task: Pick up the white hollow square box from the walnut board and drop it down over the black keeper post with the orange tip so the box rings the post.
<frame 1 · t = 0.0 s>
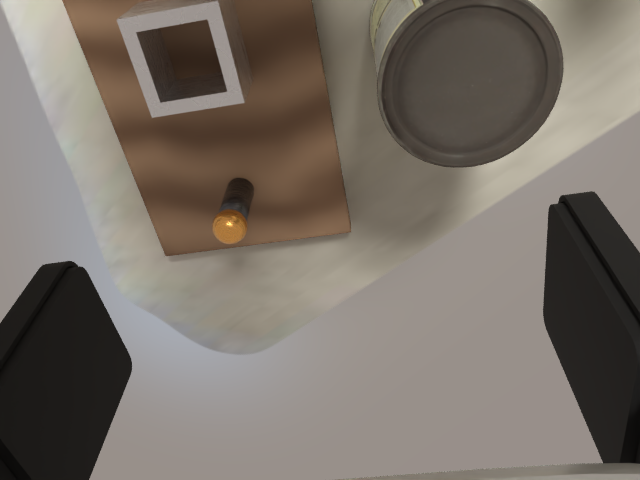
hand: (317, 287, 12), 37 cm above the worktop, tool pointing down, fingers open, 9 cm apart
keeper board: (225, 120, 49), on the worktop
white hollow square box: (197, 42, 44), point 1 cm above the worktop, touching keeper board
keeper post: (240, 189, 51), resting on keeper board
coffee can: (434, 22, 44), on the worktop
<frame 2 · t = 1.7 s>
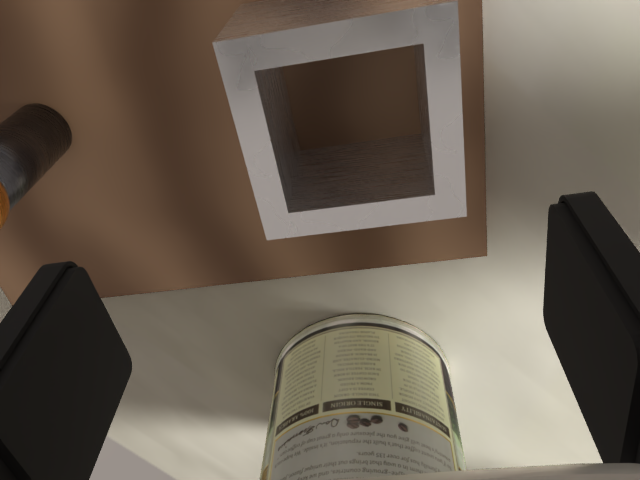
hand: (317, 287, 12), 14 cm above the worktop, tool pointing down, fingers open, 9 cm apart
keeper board: (188, 96, 24), on the worktop
white hollow square box: (350, 83, 22), point 1 cm above the worktop, touching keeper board
keeper post: (43, 130, 24), resting on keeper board
coffee can: (361, 374, 34), on the worktop
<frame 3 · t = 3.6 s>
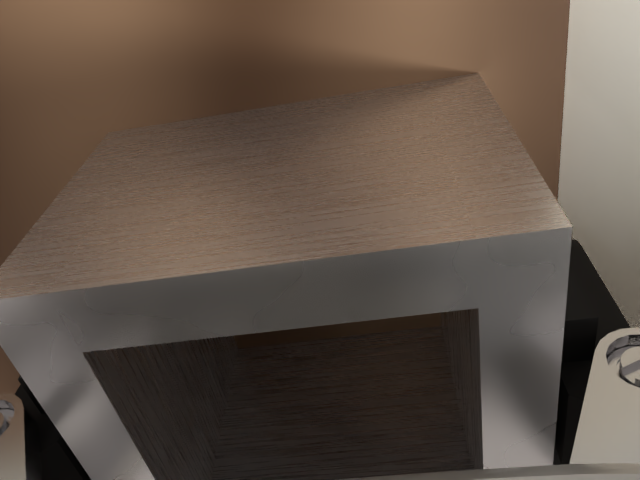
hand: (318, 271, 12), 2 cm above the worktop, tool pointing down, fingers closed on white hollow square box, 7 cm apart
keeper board: (51, 254, 15), on the worktop
white hollow square box: (319, 254, 13), point 1 cm above the worktop, touching gripper, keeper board
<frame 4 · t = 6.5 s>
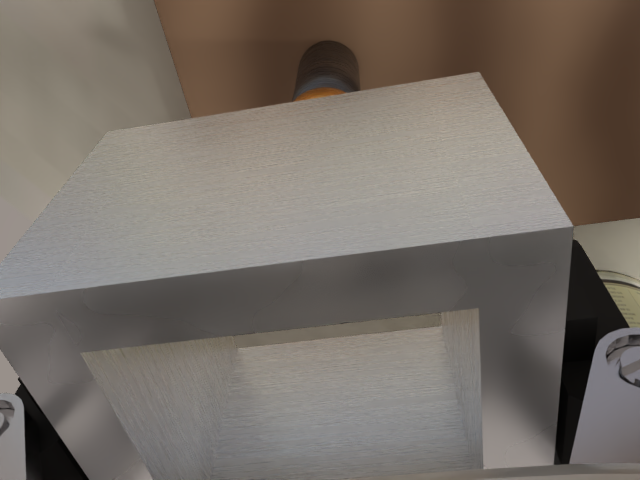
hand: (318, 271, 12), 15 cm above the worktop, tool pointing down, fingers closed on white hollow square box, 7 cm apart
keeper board: (475, 34, 23), on the worktop
white hollow square box: (319, 254, 13), point 14 cm above the worktop, touching gripper
keeper post: (328, 71, 23), resting on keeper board
coffee can: (571, 337, 33), on the worktop
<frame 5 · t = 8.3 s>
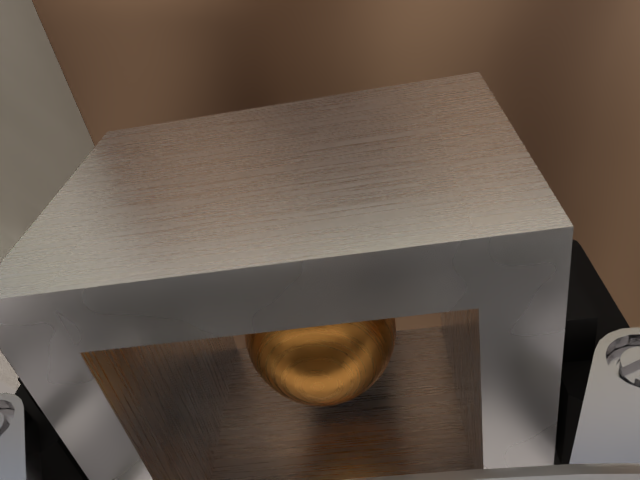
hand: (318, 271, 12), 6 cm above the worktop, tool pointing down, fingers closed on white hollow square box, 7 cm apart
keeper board: (539, 120, 16), on the worktop
white hollow square box: (319, 254, 13), point 5 cm above the worktop, touching gripper
keeper post: (327, 175, 16), resting on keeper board
when the fingers open (5 cm above the worktop, at t = 9.7 s): white hollow square box drops 2 cm, resting on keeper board.
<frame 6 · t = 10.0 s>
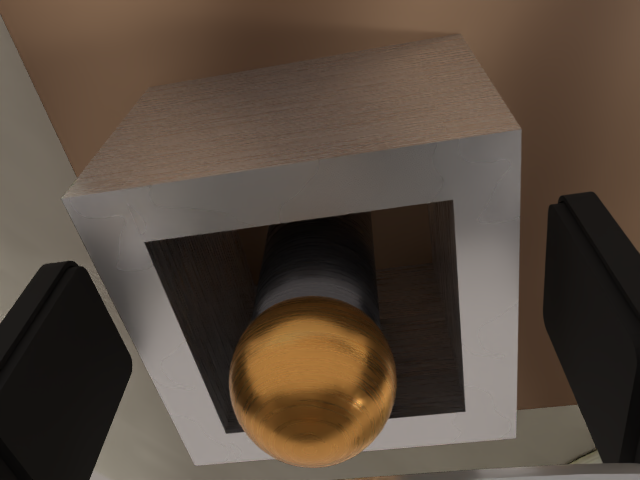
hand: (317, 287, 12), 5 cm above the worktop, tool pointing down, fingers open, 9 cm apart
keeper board: (548, 137, 15), on the worktop
white hollow square box: (326, 197, 15), point 1 cm above the worktop, touching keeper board
keeper post: (322, 197, 15), resting on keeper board
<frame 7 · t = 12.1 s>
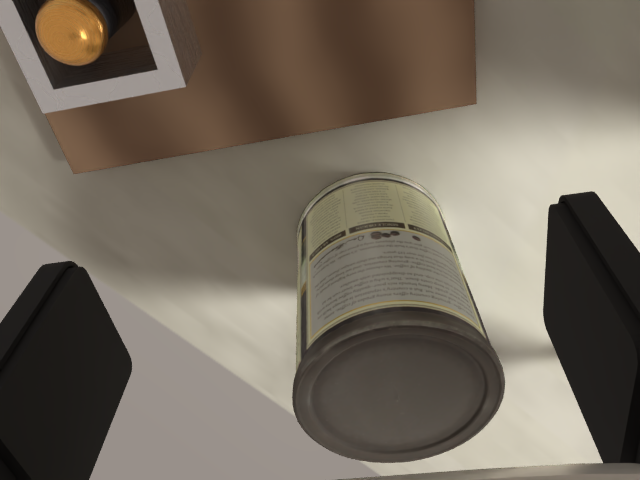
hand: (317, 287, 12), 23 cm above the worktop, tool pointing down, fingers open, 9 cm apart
coffee can: (370, 235, 40), on the worktop
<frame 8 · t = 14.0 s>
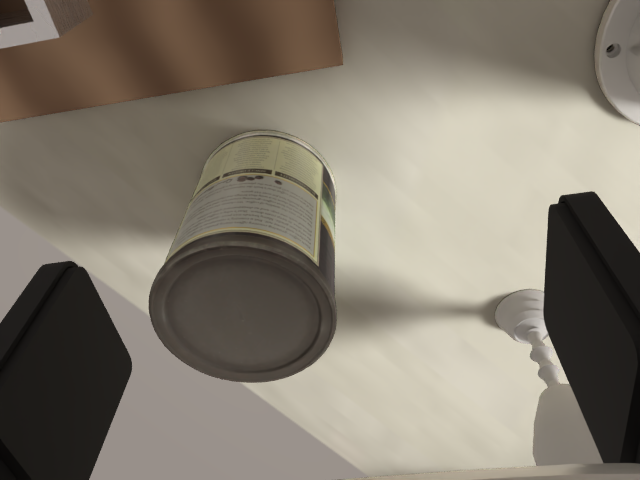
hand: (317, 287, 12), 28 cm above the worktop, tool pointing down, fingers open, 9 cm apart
chalice: (524, 310, 49), on the worktop
coffee can: (269, 190, 43), on the worktop
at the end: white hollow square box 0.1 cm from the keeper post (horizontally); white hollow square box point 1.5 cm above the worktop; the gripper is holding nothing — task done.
